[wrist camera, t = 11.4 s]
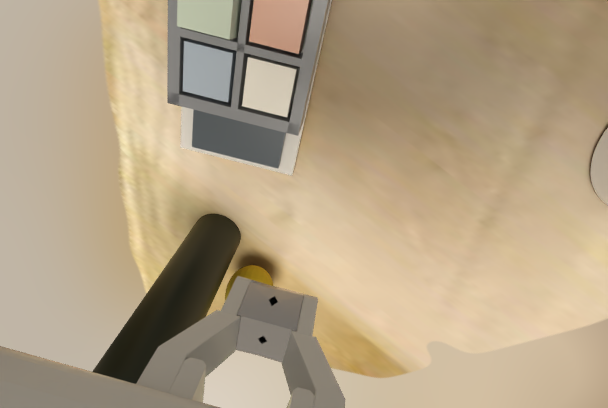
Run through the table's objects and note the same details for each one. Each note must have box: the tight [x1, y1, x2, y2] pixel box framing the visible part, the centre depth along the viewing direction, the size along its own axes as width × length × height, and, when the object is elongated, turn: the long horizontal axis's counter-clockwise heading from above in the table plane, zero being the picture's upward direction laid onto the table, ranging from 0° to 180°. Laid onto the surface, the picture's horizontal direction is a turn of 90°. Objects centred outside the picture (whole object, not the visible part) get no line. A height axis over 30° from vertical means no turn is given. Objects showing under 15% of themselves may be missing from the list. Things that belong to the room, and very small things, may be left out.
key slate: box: [183, 39, 237, 102], centre depth 29 cm, size 4×4×2 cm
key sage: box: [177, 0, 242, 40], centre depth 25 cm, size 4×4×2 cm
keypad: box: [168, 0, 332, 176], centre depth 30 cm, size 18×12×4 cm, turn 167°
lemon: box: [225, 265, 273, 301], centre depth 41 cm, size 6×6×8 cm
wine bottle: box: [93, 214, 241, 384], centre depth 29 cm, size 6×6×30 cm
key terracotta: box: [249, 0, 312, 54], centre depth 26 cm, size 4×4×2 cm
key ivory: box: [242, 55, 299, 117], centre depth 29 cm, size 4×4×2 cm
